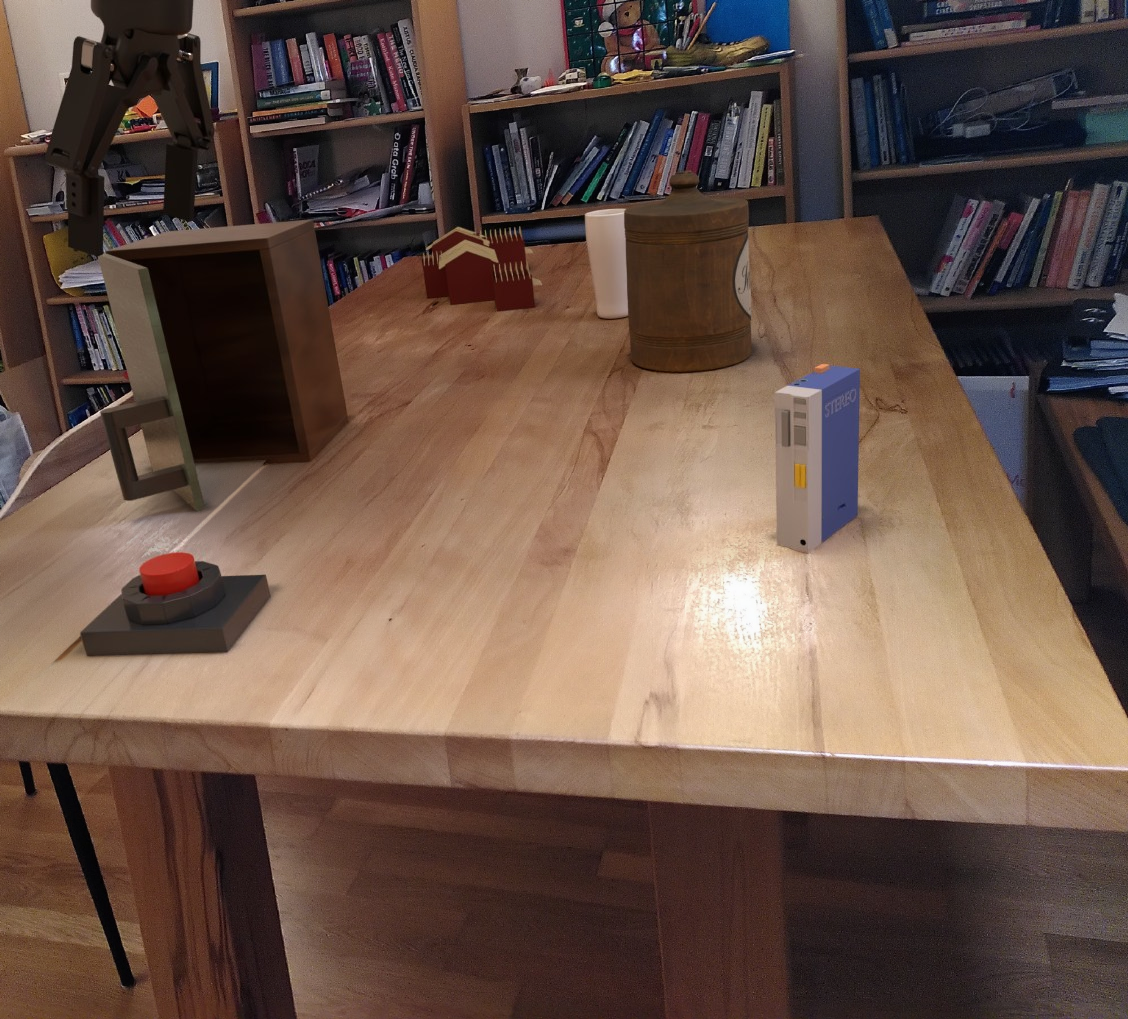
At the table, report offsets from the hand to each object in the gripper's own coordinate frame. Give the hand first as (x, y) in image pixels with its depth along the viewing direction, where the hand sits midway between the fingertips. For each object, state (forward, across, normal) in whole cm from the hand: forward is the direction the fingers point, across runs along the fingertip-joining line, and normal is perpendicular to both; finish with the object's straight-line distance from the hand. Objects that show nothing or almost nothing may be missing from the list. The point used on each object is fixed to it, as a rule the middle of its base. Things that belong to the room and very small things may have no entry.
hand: (134, 233), depth 92 cm
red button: (+12, -28, -22) cm, 38 cm away
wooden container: (+10, +42, -49) cm, 65 cm away
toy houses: (+29, +93, -8) cm, 98 cm away
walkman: (+1, -10, -64) cm, 64 cm away
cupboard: (+23, +10, -9) cm, 26 cm away
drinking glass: (+17, +67, -35) cm, 78 cm away
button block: (+15, -28, -23) cm, 39 cm away
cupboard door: (+23, -6, -6) cm, 24 cm away
